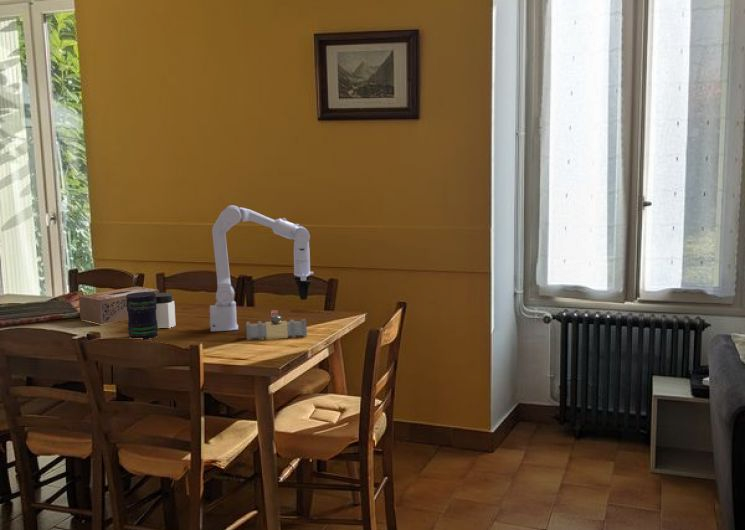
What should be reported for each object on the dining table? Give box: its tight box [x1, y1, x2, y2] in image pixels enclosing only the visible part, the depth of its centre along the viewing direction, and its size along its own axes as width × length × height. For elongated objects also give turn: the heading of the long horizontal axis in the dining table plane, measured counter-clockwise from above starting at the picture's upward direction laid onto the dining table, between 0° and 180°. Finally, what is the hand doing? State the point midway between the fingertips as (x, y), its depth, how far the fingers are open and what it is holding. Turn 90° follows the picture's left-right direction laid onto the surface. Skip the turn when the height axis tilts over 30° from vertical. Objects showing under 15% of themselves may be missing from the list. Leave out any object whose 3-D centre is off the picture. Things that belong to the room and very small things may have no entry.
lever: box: [270, 309, 283, 323], centre depth 254 cm, size 13×4×2 cm, turn 10°
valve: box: [245, 318, 308, 341], centre depth 250 cm, size 20×6×5 cm, turn 100°
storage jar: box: [126, 292, 159, 339], centre depth 253 cm, size 10×10×15 cm
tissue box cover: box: [78, 286, 160, 324], centre depth 287 cm, size 26×14×10 cm, turn 141°
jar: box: [155, 292, 176, 329], centre depth 268 cm, size 9×8×12 cm
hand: (303, 297), depth 267 cm, fingers open, 7 cm apart
